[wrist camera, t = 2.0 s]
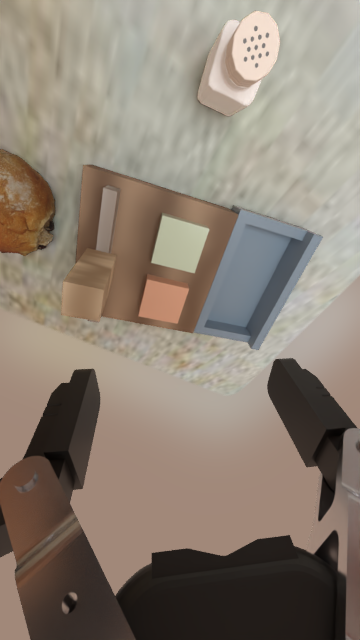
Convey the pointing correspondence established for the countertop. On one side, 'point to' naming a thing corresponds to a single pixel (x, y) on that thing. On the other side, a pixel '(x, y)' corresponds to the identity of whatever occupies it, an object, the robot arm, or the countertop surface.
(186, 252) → the sage tile
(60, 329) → the countertop surface
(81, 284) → the long tan wooden block
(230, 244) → the tray
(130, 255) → the board
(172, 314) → the terracotta tile
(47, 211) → the bread roll
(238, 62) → the pepper shaker
